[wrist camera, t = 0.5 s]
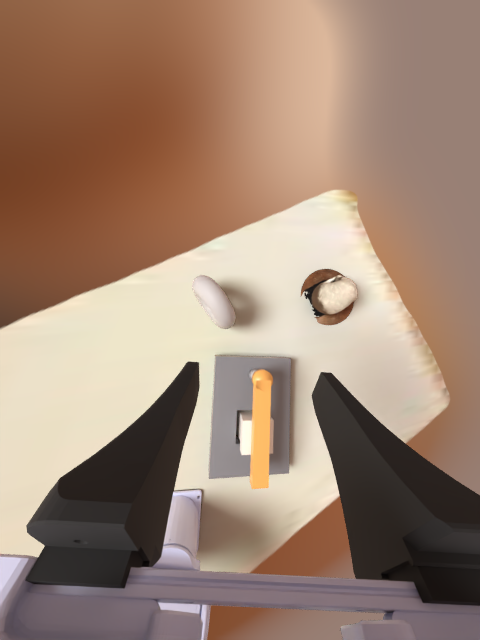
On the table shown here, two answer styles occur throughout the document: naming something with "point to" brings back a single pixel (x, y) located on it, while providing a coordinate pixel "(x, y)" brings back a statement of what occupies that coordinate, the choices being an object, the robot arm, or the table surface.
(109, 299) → the table surface
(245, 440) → the plug
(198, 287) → the donut
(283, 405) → the socket block
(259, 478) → the orange paddle handle
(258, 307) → the table surface
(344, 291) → the skull
